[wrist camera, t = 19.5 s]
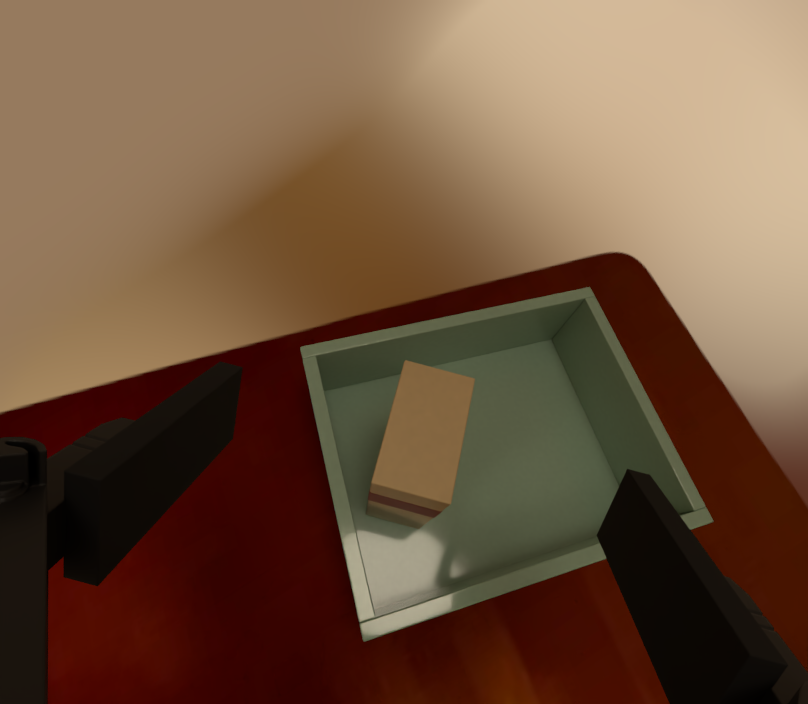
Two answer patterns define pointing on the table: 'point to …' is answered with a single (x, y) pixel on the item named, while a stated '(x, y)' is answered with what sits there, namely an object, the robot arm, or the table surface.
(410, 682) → the table surface
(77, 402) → the table surface
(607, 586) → the table surface
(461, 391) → the block
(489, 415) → the green open box
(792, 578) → the table surface
